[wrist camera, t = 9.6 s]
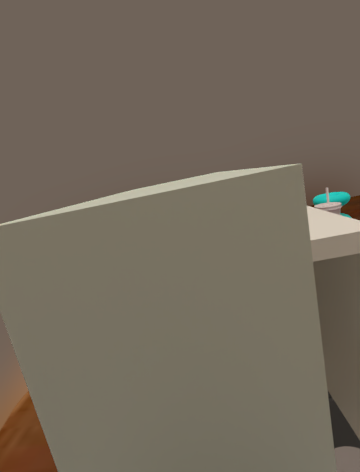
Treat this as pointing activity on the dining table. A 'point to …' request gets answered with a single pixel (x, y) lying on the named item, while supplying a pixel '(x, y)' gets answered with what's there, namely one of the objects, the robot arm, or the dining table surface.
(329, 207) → the smoothie
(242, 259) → the door panel
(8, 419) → the dining table surface
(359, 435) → the hinge cabinet
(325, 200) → the donuts
